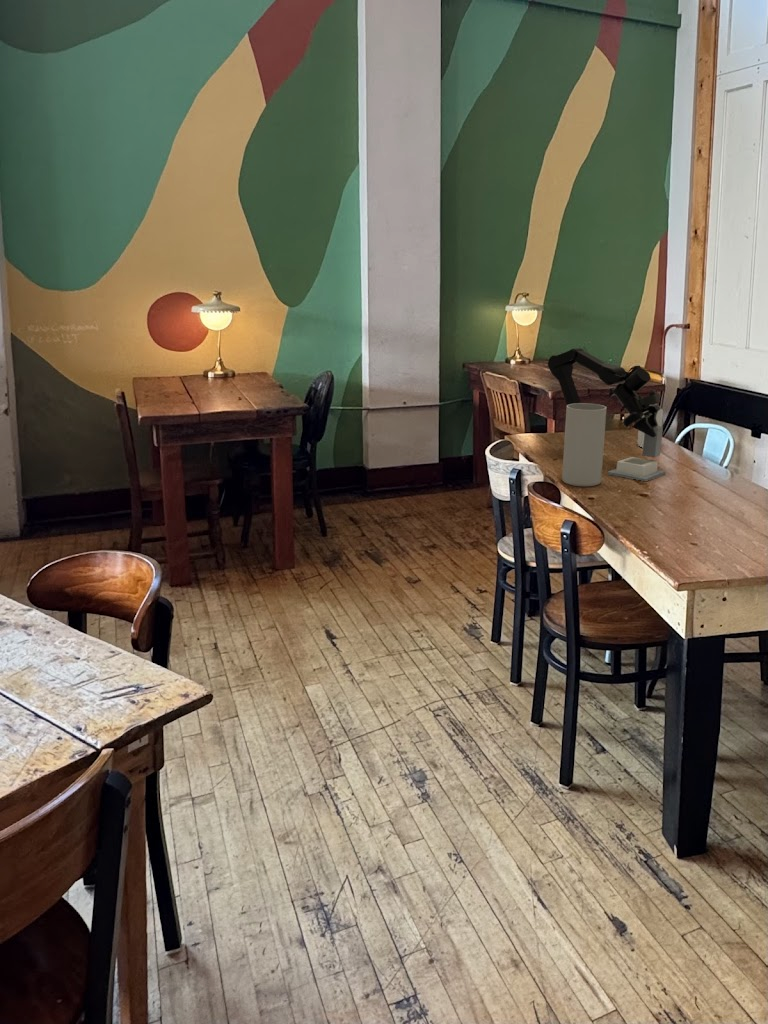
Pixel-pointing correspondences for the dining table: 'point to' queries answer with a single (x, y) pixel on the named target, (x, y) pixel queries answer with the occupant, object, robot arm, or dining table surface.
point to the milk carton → (641, 435)
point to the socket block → (637, 469)
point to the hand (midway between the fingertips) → (657, 435)
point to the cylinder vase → (584, 444)
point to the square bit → (653, 442)
